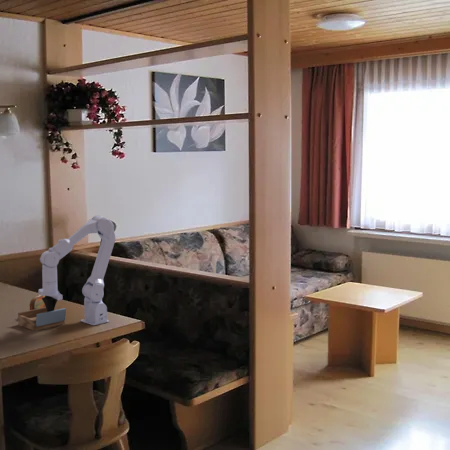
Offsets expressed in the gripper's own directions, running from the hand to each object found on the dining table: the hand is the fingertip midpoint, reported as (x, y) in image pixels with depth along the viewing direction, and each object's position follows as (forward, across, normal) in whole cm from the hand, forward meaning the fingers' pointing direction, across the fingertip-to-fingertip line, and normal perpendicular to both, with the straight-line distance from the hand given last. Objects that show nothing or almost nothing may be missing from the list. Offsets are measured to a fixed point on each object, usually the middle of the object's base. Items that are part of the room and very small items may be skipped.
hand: (50, 314), depth 250 cm
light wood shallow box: (+6, -7, 0) cm, 9 cm away
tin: (+6, -21, +8) cm, 23 cm away
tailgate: (+3, -1, 0) cm, 3 cm away
